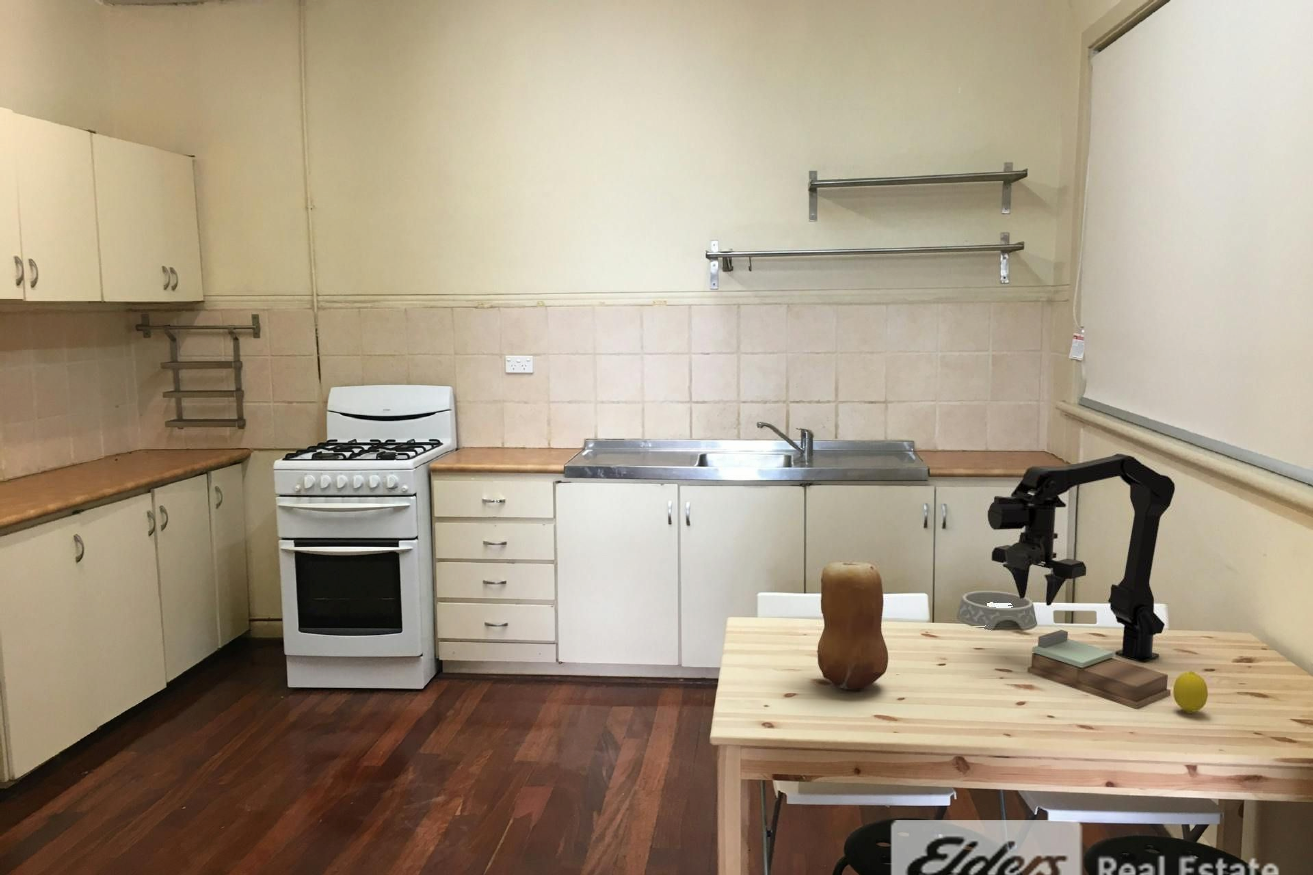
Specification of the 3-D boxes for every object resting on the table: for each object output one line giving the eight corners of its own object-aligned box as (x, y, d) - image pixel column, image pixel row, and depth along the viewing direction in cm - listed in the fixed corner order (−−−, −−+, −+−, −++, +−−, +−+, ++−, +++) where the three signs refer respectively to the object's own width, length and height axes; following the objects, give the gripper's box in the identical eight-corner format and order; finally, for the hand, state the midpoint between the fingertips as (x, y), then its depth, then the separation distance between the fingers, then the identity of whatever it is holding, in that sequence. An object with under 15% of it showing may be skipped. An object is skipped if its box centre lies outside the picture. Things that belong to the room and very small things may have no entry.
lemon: (1197, 707, 185) (1201, 666, 184) (1211, 719, 179) (1214, 677, 178) (1166, 706, 185) (1169, 665, 184) (1179, 718, 180) (1182, 676, 179)
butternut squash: (842, 670, 203) (846, 550, 200) (900, 687, 194) (905, 562, 191) (801, 687, 194) (804, 562, 190) (859, 707, 184) (863, 575, 181)
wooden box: (1027, 672, 203) (1028, 653, 202) (1061, 660, 209) (1062, 642, 209) (1136, 708, 184) (1138, 688, 183) (1170, 694, 191) (1171, 674, 190)
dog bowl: (948, 609, 246) (949, 588, 246) (1023, 610, 246) (1024, 589, 245) (967, 631, 229) (968, 608, 229) (1047, 632, 229) (1049, 609, 228)
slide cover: (1032, 651, 202) (1032, 637, 202) (1063, 641, 208) (1064, 628, 208) (1082, 667, 193) (1083, 652, 193) (1113, 656, 199) (1114, 642, 199)
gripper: (976, 524, 208) (973, 597, 210) (1057, 541, 193) (1052, 619, 195) (1009, 518, 214) (1005, 589, 216) (1090, 534, 199) (1085, 610, 201)
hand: (1035, 601), depth 207 cm, fingers open, 6 cm apart
